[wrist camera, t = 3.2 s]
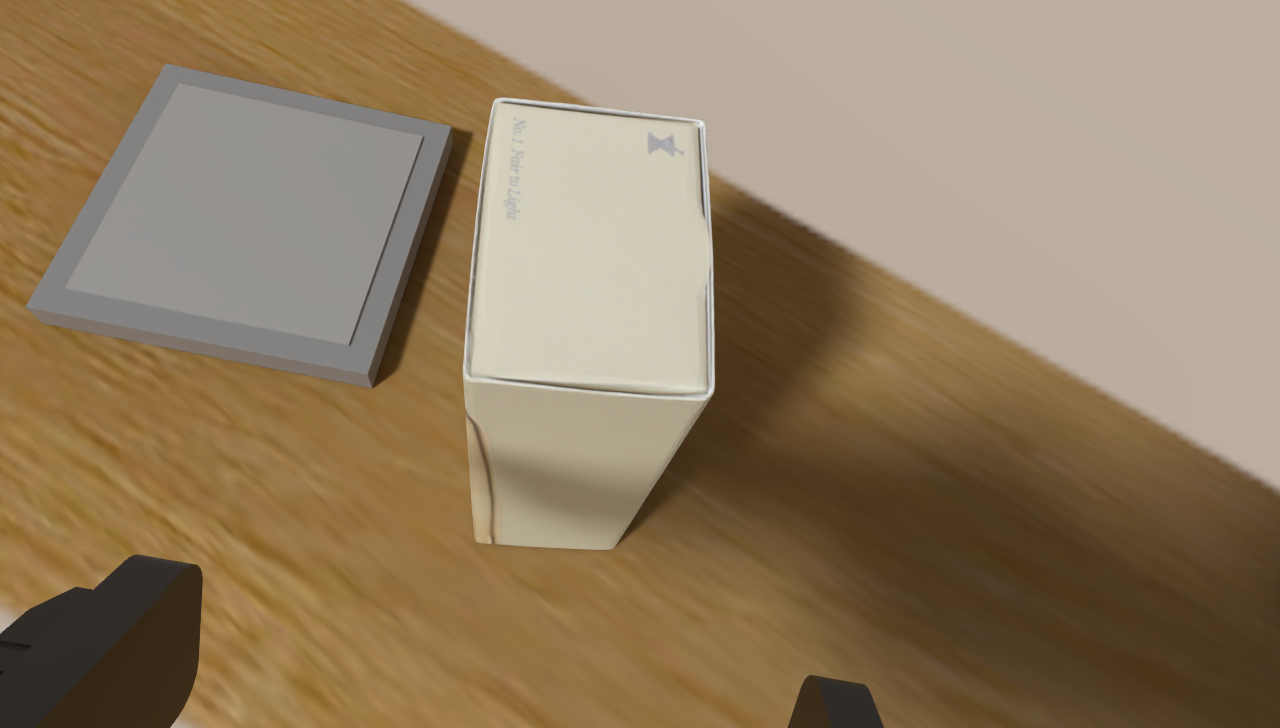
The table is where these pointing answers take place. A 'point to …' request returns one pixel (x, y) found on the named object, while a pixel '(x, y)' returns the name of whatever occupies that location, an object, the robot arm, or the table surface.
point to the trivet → (251, 228)
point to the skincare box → (584, 318)
